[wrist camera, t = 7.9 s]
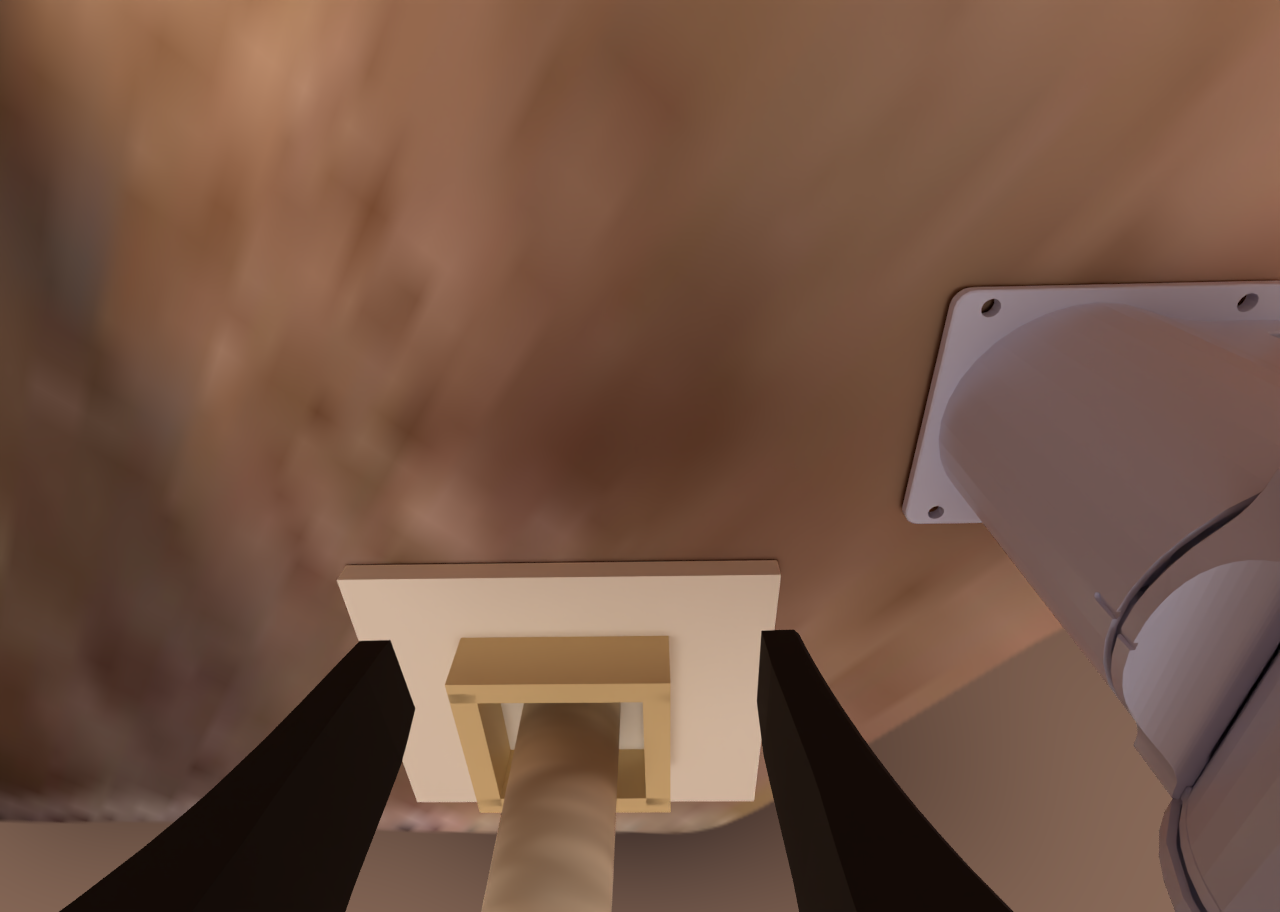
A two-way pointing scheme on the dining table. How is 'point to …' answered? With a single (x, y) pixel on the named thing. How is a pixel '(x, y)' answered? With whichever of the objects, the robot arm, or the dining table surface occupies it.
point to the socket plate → (576, 667)
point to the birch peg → (558, 812)
